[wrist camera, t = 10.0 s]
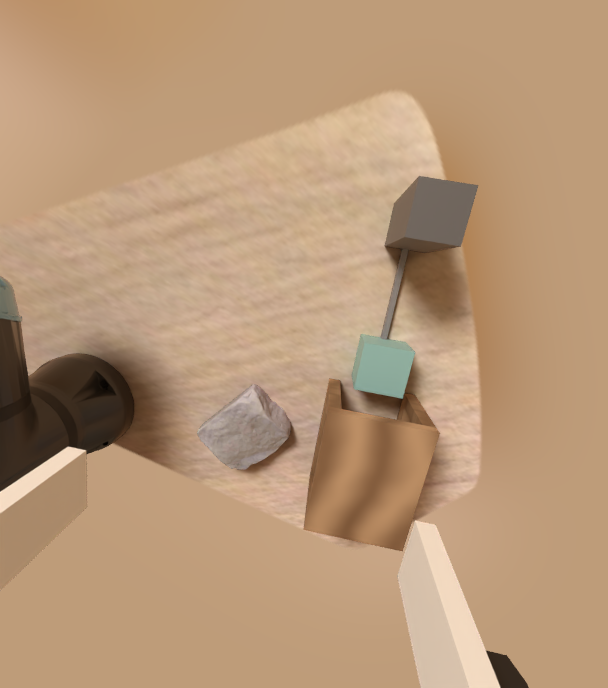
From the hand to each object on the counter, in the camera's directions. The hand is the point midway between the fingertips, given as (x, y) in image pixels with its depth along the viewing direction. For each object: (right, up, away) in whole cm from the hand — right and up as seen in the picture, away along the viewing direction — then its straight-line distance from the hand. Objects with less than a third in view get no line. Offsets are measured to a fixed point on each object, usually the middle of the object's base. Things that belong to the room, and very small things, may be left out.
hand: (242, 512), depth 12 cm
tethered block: (+14, +12, +27) cm, 33 cm away
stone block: (-6, -6, +34) cm, 35 cm away
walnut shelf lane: (+11, -7, +32) cm, 35 cm away
